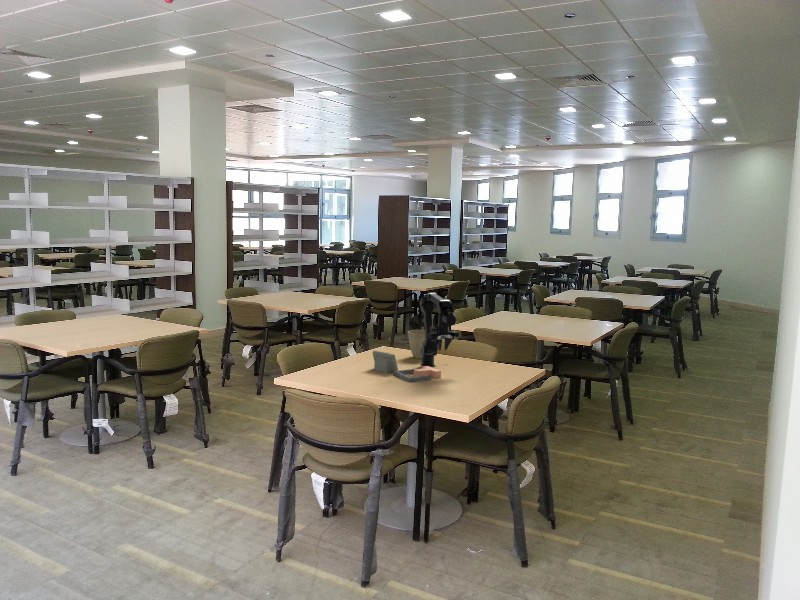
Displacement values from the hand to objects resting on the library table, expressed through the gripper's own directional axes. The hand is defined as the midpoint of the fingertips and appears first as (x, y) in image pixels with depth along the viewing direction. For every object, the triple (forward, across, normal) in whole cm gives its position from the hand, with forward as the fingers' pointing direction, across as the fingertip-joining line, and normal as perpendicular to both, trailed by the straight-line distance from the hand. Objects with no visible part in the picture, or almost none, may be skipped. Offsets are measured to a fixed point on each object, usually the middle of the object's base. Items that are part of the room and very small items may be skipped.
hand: (442, 350), depth 351 cm
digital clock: (+13, +25, -20) cm, 34 cm away
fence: (+13, +19, 0) cm, 23 cm away
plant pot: (+13, -12, -42) cm, 46 cm away
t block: (+13, +11, 0) cm, 17 cm away
